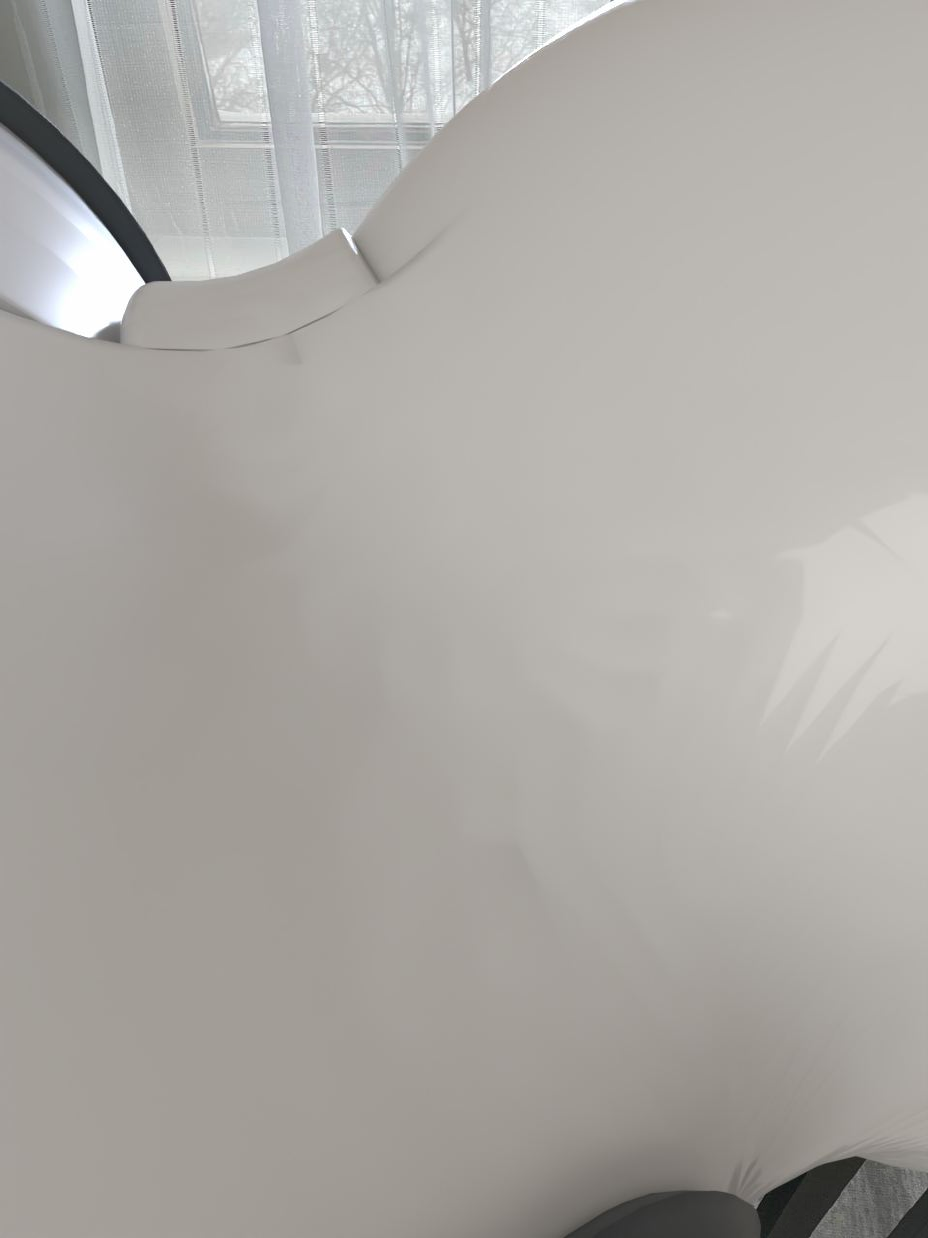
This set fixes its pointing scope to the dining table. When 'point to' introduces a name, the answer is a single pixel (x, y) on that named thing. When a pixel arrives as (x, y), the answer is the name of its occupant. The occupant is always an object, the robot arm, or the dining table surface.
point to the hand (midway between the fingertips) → (599, 825)
